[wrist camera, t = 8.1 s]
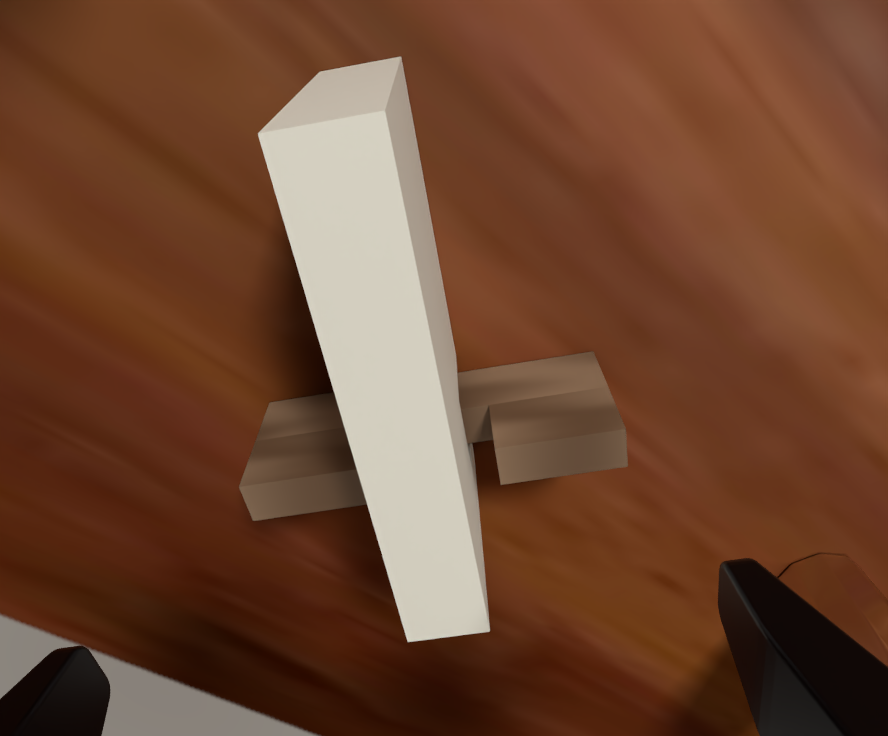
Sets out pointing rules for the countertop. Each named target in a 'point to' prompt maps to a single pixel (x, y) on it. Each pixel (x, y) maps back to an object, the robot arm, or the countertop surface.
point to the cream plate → (385, 332)
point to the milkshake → (843, 598)
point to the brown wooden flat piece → (484, 417)
